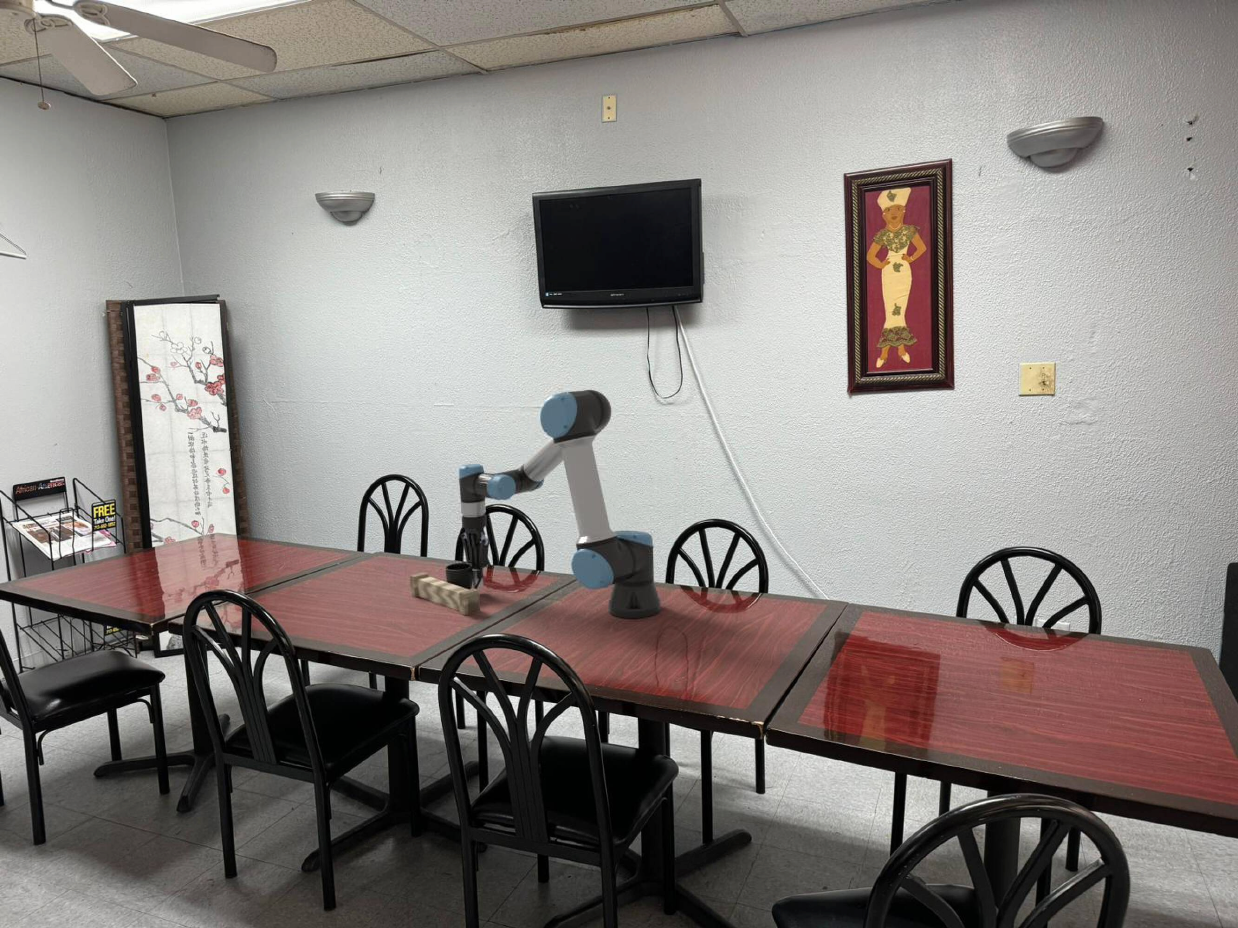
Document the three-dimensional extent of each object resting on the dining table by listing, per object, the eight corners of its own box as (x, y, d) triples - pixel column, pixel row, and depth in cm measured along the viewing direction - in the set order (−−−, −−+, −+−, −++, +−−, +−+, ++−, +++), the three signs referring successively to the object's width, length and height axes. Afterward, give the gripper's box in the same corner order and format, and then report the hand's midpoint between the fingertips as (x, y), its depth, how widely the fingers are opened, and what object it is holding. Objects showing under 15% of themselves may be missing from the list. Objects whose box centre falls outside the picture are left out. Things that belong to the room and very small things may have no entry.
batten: (480, 611, 259) (478, 589, 258) (465, 615, 255) (463, 593, 254) (425, 591, 280) (424, 572, 279) (411, 595, 277) (409, 575, 276)
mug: (476, 602, 267) (474, 572, 266) (442, 599, 272) (440, 569, 270) (490, 593, 275) (487, 564, 273) (456, 590, 279) (454, 561, 278)
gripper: (496, 515, 270) (500, 589, 274) (472, 509, 280) (476, 581, 284) (475, 519, 265) (480, 595, 269) (451, 513, 275) (456, 586, 279)
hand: (478, 588), depth 276 cm, fingers closed
